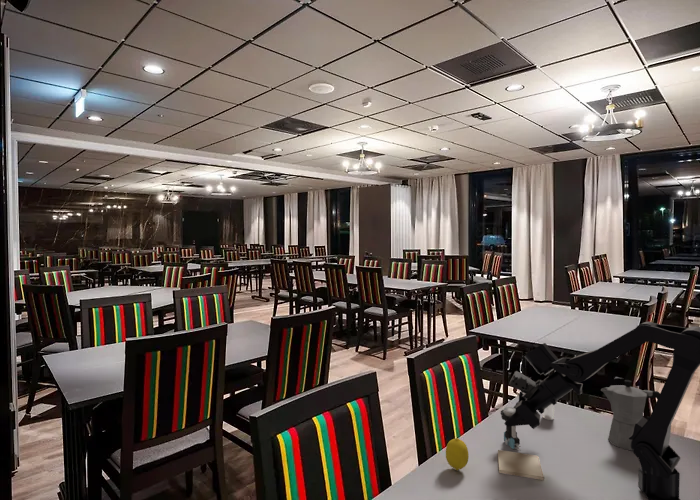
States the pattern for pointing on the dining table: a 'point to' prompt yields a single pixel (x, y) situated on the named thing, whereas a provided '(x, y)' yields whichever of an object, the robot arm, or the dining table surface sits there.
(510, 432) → the push button
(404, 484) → the dining table surface
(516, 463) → the birch pad
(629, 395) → the coffeepot
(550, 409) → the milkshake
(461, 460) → the lemon
